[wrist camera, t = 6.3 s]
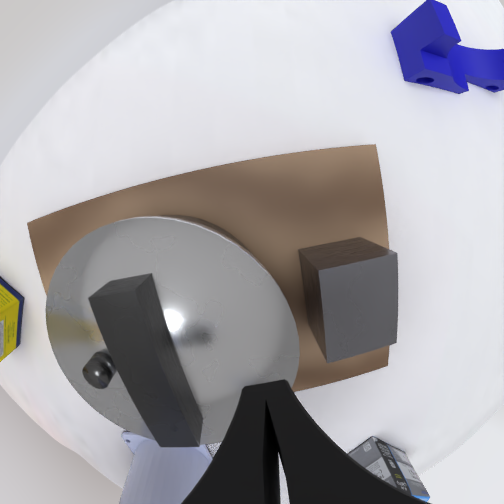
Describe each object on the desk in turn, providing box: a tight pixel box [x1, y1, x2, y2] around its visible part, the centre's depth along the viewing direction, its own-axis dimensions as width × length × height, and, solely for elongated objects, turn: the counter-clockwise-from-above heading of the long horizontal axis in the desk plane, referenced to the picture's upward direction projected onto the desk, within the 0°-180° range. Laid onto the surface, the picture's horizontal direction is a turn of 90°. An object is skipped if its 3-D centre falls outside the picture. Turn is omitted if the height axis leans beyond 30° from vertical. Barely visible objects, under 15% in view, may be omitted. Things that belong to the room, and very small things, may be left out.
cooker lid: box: [46, 216, 300, 447], centre depth 11 cm, size 13×13×3 cm
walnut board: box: [27, 144, 389, 392], centre depth 17 cm, size 16×24×1 cm, turn 101°
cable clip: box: [391, 0, 504, 94], centre depth 12 cm, size 12×4×6 cm, turn 96°
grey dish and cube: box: [160, 215, 398, 363], centre depth 15 cm, size 12×18×4 cm, turn 101°
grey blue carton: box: [348, 437, 430, 502], centre depth 17 cm, size 9×4×12 cm, turn 48°
